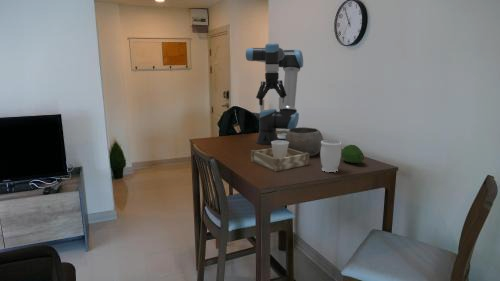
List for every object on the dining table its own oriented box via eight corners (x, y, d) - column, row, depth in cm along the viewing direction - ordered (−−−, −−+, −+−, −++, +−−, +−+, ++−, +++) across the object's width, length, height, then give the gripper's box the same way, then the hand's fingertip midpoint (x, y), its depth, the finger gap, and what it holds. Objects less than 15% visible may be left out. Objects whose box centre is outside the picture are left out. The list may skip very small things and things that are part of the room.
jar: (317, 167, 182) (318, 139, 178) (336, 167, 182) (337, 139, 179) (322, 173, 171) (324, 144, 168) (343, 173, 172) (344, 144, 169)
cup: (287, 164, 184) (288, 144, 182) (269, 163, 186) (269, 143, 184) (289, 159, 194) (289, 140, 192) (271, 158, 196) (272, 139, 193)
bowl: (280, 150, 220) (280, 126, 217) (313, 148, 225) (314, 125, 222) (291, 159, 198) (292, 133, 195) (328, 157, 203) (330, 132, 200)
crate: (282, 155, 206) (282, 145, 204) (309, 164, 187) (309, 153, 186) (250, 161, 193) (250, 150, 192) (275, 171, 175) (276, 159, 173)
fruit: (368, 166, 185) (369, 148, 183) (351, 167, 182) (353, 149, 180) (352, 159, 199) (354, 142, 197) (337, 160, 197) (338, 143, 195)
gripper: (284, 71, 202) (283, 107, 207) (249, 72, 188) (250, 111, 193) (293, 71, 196) (292, 108, 201) (258, 73, 182) (258, 112, 187)
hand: (271, 109), depth 197 cm, fingers open, 13 cm apart
